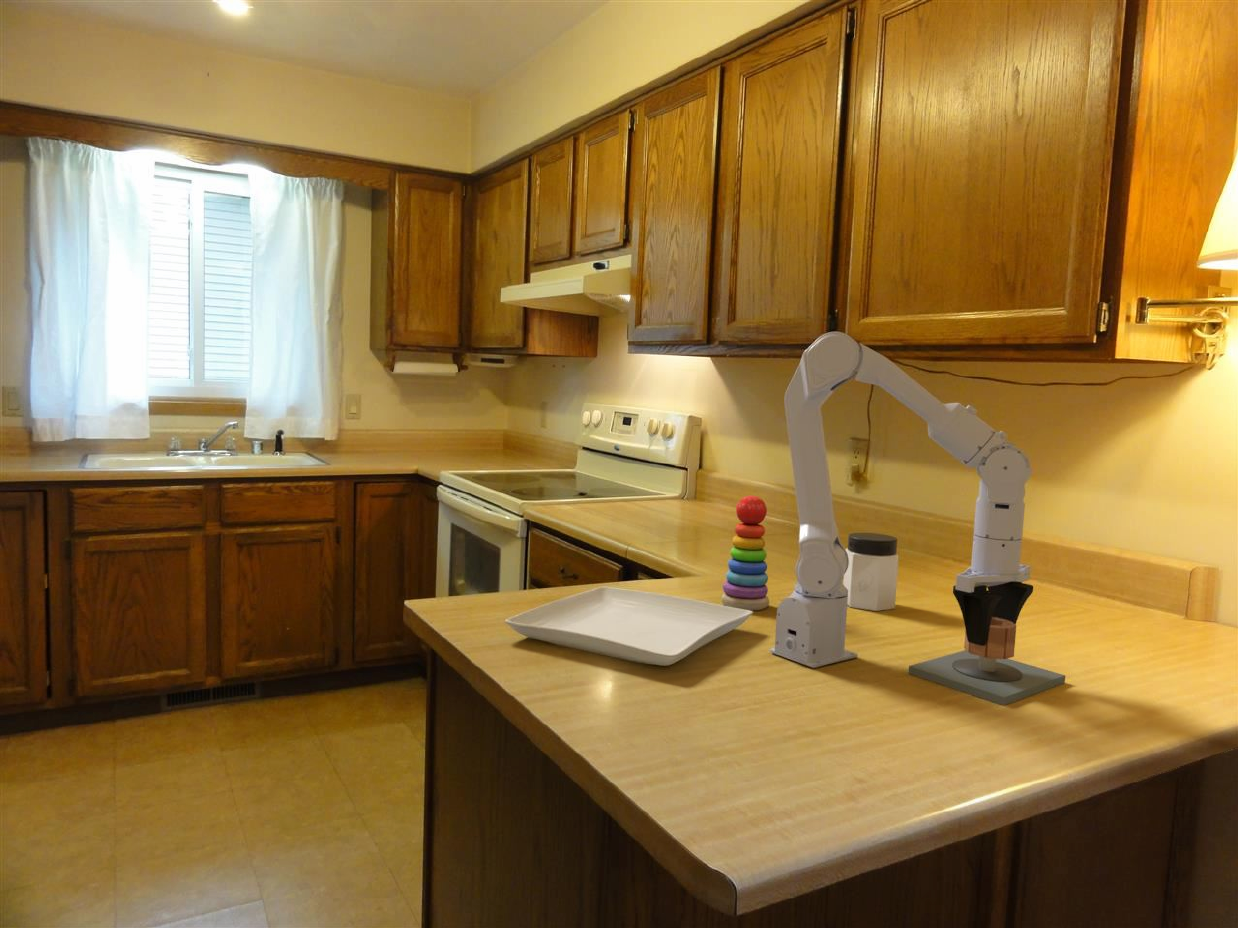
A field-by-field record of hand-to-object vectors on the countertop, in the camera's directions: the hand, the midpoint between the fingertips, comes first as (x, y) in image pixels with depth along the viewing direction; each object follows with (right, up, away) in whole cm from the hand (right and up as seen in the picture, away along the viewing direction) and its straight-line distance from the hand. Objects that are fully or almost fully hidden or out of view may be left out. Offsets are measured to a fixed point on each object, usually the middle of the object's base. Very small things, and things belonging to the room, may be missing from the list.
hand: (989, 639), depth 109 cm
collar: (0, -2, 0) cm, 2 cm away
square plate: (-46, -3, +13) cm, 48 cm away
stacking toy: (-27, -1, +33) cm, 42 cm away
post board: (0, -5, 0) cm, 5 cm away
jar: (-5, -2, +37) cm, 37 cm away
